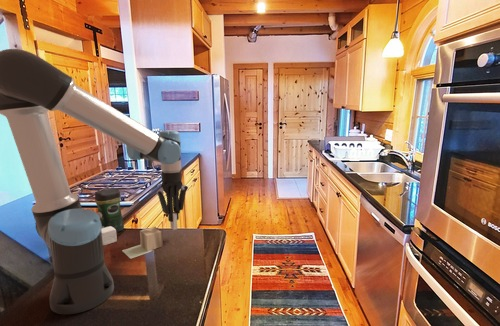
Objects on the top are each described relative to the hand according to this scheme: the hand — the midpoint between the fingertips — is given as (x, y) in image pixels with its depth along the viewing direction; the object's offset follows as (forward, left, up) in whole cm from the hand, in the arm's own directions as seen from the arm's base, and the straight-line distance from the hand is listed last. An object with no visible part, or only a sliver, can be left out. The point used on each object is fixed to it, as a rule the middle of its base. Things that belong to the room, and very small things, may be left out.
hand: (174, 228), depth 111 cm
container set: (+15, +28, -5) cm, 32 cm away
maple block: (0, +6, -1) cm, 7 cm away
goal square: (0, +15, -4) cm, 16 cm away
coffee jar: (+25, +16, -5) cm, 30 cm away
